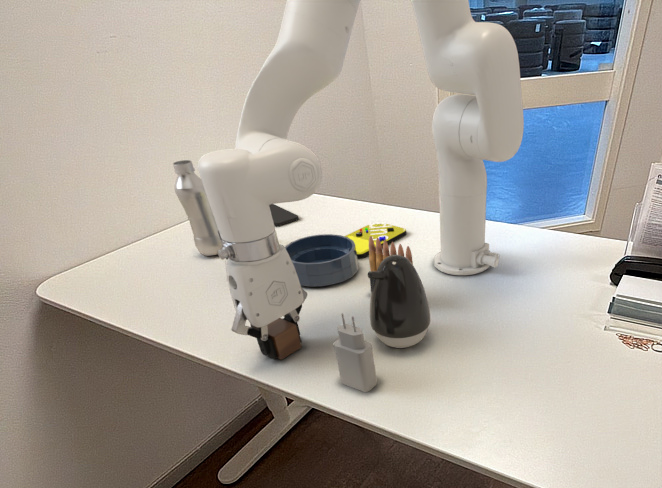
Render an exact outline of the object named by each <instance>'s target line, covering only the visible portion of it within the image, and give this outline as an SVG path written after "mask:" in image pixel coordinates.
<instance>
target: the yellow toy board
mask: <svg viewBox="0 0 662 488" xmlns="http://www.w3.org/2000/svg"><path fill="white" fill-rule="evenodd" d="M344 236H345V237H348V238H350V239H351V240H353V241H354V243H355V245H356V252H357V259H359V260H360V259H361V260H362V259H365V258H367V257H369V237H370V236H372V238H373V241H374V244H375V250H376V240H377V238H379V240H380V242H381V246H382V249H383V243H384V240H386V241H387V244H388V246H389V245H391V243H392V242H393V243H395V242H396V241H399V240H400V239H402V238H403V237H406V236H407V229H406V228H405V227H401V226H396V225H393V224H390V223H385V222H374V223H370V224H367V225H365V226H362V227H361V228H359V229H356V230H354V231H351V232H350V233H348V234H345V235H344Z"/></svg>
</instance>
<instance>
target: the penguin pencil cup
mask: <svg viewBox="0 0 662 488" xmlns="http://www.w3.org/2000/svg"><path fill="white" fill-rule="evenodd" d="M367 277H368V279H369V280H370V279H374V282H373V286H372V291H371V290H370V301H369V323H370V328H371V329H372V330H373V332H374V333H375V336H376V337H377V338H378V340H379V341H381V342H382V343H383V344H384V345H386V346H388V347H392V348H397V349H404V348H410V347H413V346H416V345H417V344H418V343H420V342H421V341H422V340H423V339H424V338H425V336H426V334H427V332H428V329H429V327H430V325H431V322H432V321H431V320H432V317H431V309H430V305H429V300H428V295H427V293H426V289H425V286H424V283H423V281H422V279H421V277H420V275H419V273H418V271H417V269H416V268H415V266H414V264H413V265H412V263H411V262H410V261H409V260H408V259H407V258H406V256H405V255H404V256H401V255H398V254H397V255H391V256H388V257H386V258H385V259H384V260H383V261H382V262H381V263H380V265H379V267H378V269H377V271H368V272H367Z"/></svg>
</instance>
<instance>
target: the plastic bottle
mask: <svg viewBox="0 0 662 488" xmlns="http://www.w3.org/2000/svg"><path fill="white" fill-rule="evenodd" d="M172 166H173V168H174V173H175V174H176V175H177V177H176V180H175V183H174V192H175V195H176V197H177V198H178V200H179V202H180V204H181V206H182V208H183V210H184V212H185V215H186V216H187V219H188V221H189V225H190V228H191V231H192V235H193V242H194V246H195V247H196V250H197V251H198V252H199V253H200V254H201V255H203V256H209V257H210V256H217V255H218V253H217V251H218V250H220V249H221V248H222V243H221V240H220V237H219V234H218V227H217V224H216V221H215V218H214V215H213V212H212V210H211V207H210V204H209V201H208V198H207V195H206V192H205V189H204V186H203V183H202V180H201V177H200V176H199V175H198V174H196V173H195V171H196V169H195V167H194V165H193V162H192V160H191V159H190V160H189V159H184V160H182V159H181V160H178V161H174V162H173V163H172Z"/></svg>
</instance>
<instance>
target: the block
mask: <svg viewBox="0 0 662 488" xmlns="http://www.w3.org/2000/svg"><path fill="white" fill-rule="evenodd" d="M268 337H270V338H272V340H273V343H274V346H275V349H276V352H277V356H278V357H277V358H276V359H278V360H280V361H282V360H285V358H287V357H288V356H290V355H292V354H294V353H295V352H297V351H298V350H300V349H301V348H302V342H300V339H299V335H298V331H297V327H296V325H295V324H293V323H291V322H288V321H286V320H284V319H283V318H282V317H281V318H279V319H277V320H275V321H273V322H272V323H270V324H268Z"/></svg>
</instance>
